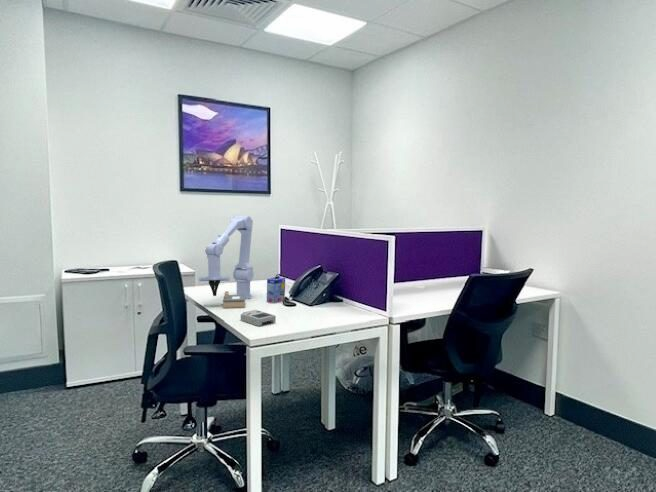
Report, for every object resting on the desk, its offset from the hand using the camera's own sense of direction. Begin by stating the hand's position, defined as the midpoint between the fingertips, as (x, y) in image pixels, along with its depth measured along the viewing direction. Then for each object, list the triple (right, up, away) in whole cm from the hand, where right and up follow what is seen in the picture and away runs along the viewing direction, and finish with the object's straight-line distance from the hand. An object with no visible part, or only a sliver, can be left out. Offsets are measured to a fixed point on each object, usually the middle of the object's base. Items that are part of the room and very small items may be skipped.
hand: (214, 295), depth 220 cm
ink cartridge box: (+29, -5, +12) cm, 32 cm away
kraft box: (+9, -5, +2) cm, 11 cm away
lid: (+9, -2, +2) cm, 10 cm away
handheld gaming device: (+25, -9, -27) cm, 38 cm away
